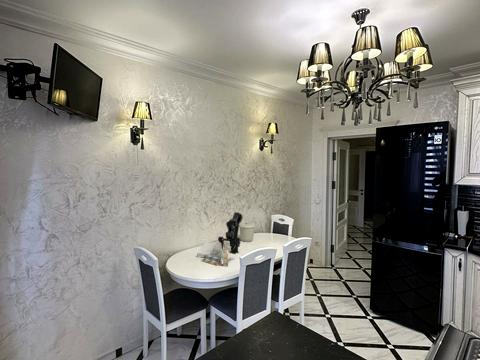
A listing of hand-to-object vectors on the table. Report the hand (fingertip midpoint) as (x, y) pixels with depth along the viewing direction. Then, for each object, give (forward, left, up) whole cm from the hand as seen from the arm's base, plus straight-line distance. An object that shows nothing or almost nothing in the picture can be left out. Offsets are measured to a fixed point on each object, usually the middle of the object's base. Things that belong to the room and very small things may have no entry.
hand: (227, 249), depth 219 cm
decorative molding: (-4, -36, -13) cm, 38 cm away
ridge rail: (+9, -9, -12) cm, 18 cm away
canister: (-58, -39, -12) cm, 71 cm away
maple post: (+4, +3, -12) cm, 13 cm away
